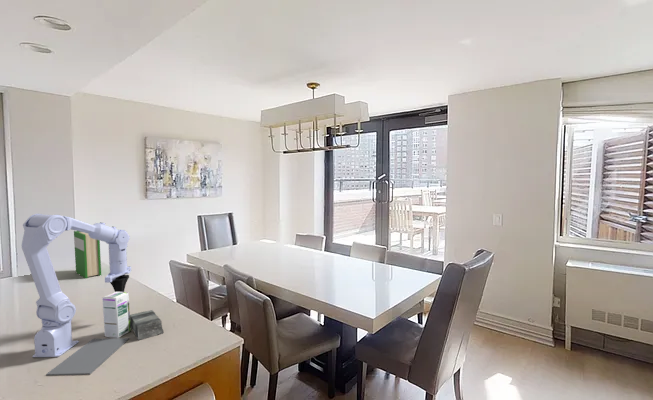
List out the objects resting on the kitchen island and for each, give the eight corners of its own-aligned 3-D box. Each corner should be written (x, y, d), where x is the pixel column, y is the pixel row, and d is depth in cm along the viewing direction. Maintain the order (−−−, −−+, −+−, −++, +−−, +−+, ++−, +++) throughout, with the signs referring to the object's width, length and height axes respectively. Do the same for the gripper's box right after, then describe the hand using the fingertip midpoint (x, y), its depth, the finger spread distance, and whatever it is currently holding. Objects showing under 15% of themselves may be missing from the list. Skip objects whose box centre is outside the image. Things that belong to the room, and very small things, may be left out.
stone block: (156, 320, 131) (155, 307, 131) (166, 334, 120) (165, 319, 120) (129, 326, 126) (129, 313, 125) (137, 341, 115) (137, 326, 114)
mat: (90, 374, 95) (89, 373, 95) (46, 375, 95) (46, 374, 95) (129, 339, 116) (129, 338, 116) (93, 339, 115) (93, 338, 115)
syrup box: (118, 338, 116) (116, 297, 115) (103, 337, 117) (101, 296, 116) (131, 331, 122) (129, 292, 121) (117, 329, 123) (115, 290, 122)
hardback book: (101, 275, 188) (99, 233, 186) (85, 278, 182) (83, 234, 181) (91, 269, 199) (89, 229, 198) (76, 272, 194) (73, 231, 192)
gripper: (118, 265, 122) (120, 301, 123) (138, 255, 136) (139, 288, 137) (98, 265, 121) (100, 302, 123) (120, 255, 136) (122, 288, 137)
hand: (119, 294), depth 130 cm, fingers closed
